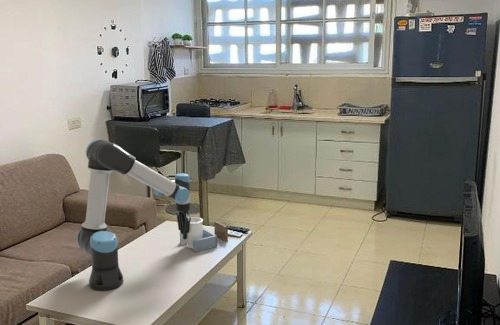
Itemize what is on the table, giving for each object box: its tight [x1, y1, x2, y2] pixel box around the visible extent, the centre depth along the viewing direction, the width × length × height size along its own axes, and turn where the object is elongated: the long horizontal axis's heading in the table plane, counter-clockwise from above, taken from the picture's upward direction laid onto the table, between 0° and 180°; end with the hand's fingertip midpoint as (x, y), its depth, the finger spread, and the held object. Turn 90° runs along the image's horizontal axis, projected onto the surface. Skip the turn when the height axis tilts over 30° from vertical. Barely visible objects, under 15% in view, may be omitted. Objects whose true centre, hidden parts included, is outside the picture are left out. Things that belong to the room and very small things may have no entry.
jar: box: [185, 216, 204, 249], centre depth 266 cm, size 11×10×15 cm
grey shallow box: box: [179, 227, 218, 253], centre depth 268 cm, size 14×16×6 cm
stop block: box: [213, 220, 229, 243], centre depth 277 cm, size 2×11×9 cm, turn 35°
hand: (184, 243), depth 264 cm, fingers closed
